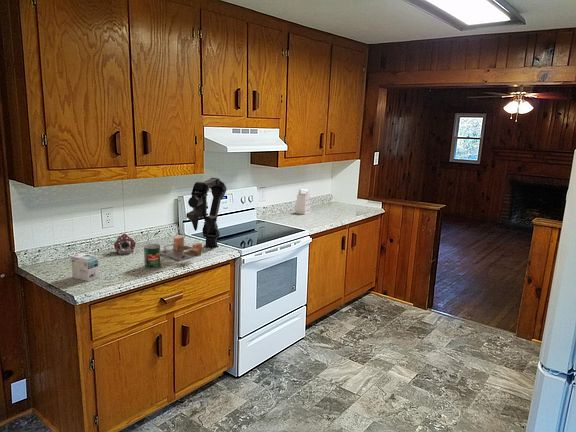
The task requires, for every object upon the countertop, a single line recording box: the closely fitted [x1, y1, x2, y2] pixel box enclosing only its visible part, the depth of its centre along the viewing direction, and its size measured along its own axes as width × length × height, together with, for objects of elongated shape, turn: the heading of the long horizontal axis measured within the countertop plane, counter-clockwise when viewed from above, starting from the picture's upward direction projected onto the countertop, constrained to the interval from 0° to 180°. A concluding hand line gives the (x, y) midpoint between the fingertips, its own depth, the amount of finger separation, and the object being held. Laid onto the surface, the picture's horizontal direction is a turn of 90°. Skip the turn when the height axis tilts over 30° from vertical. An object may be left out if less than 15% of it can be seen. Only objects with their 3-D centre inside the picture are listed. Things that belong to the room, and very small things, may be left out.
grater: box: [294, 188, 312, 215], centre depth 373 cm, size 10×10×20 cm
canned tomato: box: [143, 243, 162, 270], centre depth 223 cm, size 8×8×11 cm
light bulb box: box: [70, 252, 101, 282], centre depth 204 cm, size 11×7×11 cm, turn 67°
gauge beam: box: [172, 242, 203, 257], centre depth 247 cm, size 13×20×6 cm, turn 55°
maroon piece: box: [113, 233, 136, 256], centre depth 246 cm, size 11×11×12 cm
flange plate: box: [160, 248, 192, 262], centre depth 242 cm, size 8×20×1 cm, turn 55°
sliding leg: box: [163, 236, 185, 251], centre depth 250 cm, size 13×3×7 cm, turn 145°
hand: (201, 231), depth 247 cm, fingers open, 9 cm apart
